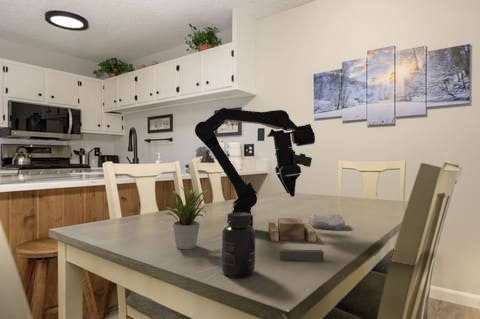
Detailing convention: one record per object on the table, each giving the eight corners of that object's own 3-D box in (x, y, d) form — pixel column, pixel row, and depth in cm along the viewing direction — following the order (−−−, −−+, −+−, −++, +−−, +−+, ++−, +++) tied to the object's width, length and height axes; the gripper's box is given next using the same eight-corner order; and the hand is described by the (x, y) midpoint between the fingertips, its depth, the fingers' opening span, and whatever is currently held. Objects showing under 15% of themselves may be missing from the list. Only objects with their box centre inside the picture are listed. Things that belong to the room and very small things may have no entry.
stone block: (347, 235, 101) (340, 223, 111) (348, 222, 100) (341, 211, 110) (311, 235, 102) (308, 223, 112) (311, 222, 101) (308, 211, 111)
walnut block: (280, 240, 88) (280, 223, 88) (277, 233, 96) (277, 218, 96) (304, 240, 87) (304, 223, 87) (299, 234, 95) (299, 218, 95)
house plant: (225, 241, 85) (226, 183, 85) (206, 256, 71) (206, 188, 72) (179, 237, 89) (180, 182, 89) (153, 251, 76) (154, 185, 76)
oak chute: (271, 241, 86) (271, 230, 86) (268, 231, 98) (268, 222, 98) (315, 242, 85) (315, 231, 85) (307, 232, 97) (307, 222, 97)
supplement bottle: (259, 276, 60) (260, 216, 60) (226, 280, 58) (227, 217, 58) (248, 265, 66) (249, 210, 66) (218, 268, 64) (219, 211, 64)
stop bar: (280, 259, 70) (280, 251, 70) (279, 257, 71) (279, 249, 71) (323, 260, 70) (323, 251, 70) (321, 258, 71) (321, 249, 71)
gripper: (314, 143, 91) (321, 194, 91) (302, 145, 110) (308, 188, 110) (277, 149, 91) (285, 200, 91) (272, 150, 110) (278, 192, 110)
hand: (290, 194), depth 100 cm, fingers open, 9 cm apart
